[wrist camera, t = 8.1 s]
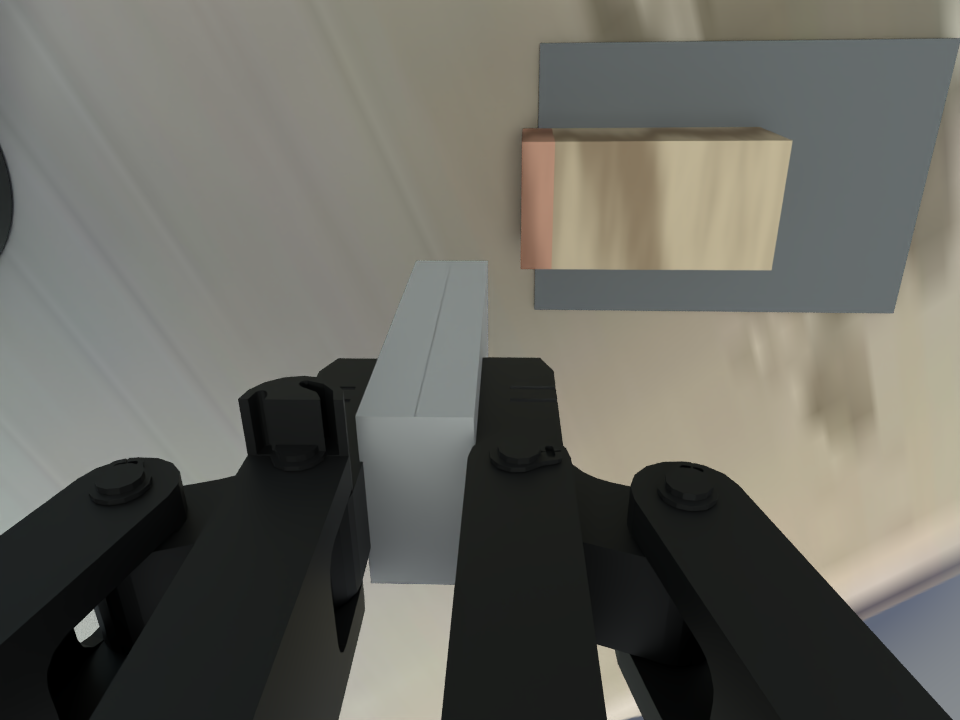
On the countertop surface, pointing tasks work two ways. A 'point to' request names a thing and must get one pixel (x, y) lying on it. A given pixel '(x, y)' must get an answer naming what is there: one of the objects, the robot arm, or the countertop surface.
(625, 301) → the mat
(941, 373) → the countertop surface
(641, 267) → the oak block
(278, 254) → the countertop surface
